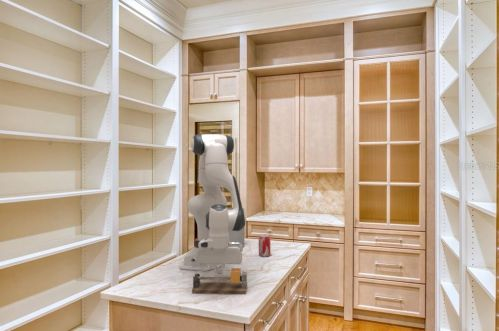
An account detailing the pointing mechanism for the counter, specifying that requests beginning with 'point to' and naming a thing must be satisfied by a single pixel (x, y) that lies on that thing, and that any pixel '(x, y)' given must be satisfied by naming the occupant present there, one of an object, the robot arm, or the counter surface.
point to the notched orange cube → (235, 275)
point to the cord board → (219, 285)
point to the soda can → (264, 245)
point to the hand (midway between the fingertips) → (219, 273)
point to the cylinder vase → (236, 234)
